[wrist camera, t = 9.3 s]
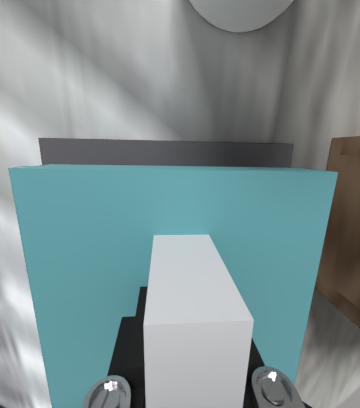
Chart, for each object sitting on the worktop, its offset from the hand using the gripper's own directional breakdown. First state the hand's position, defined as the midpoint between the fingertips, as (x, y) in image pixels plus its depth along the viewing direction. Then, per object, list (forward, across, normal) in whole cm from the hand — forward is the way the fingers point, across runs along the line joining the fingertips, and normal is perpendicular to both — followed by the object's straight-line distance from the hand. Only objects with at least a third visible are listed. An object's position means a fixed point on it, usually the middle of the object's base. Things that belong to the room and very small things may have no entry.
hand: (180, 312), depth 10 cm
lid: (+3, 0, 0) cm, 3 cm away
